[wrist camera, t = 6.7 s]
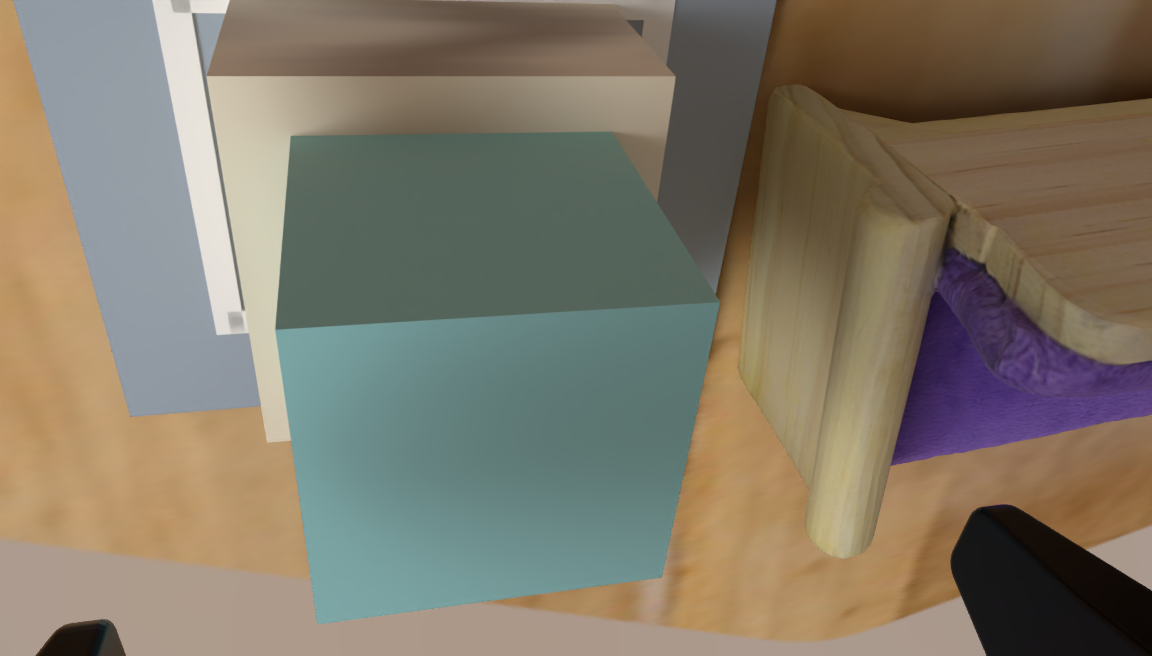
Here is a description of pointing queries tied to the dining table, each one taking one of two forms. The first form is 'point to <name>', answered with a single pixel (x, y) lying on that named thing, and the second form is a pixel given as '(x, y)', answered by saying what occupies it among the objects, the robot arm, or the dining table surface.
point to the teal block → (483, 366)
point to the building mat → (196, 187)
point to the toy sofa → (942, 288)
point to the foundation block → (408, 103)
